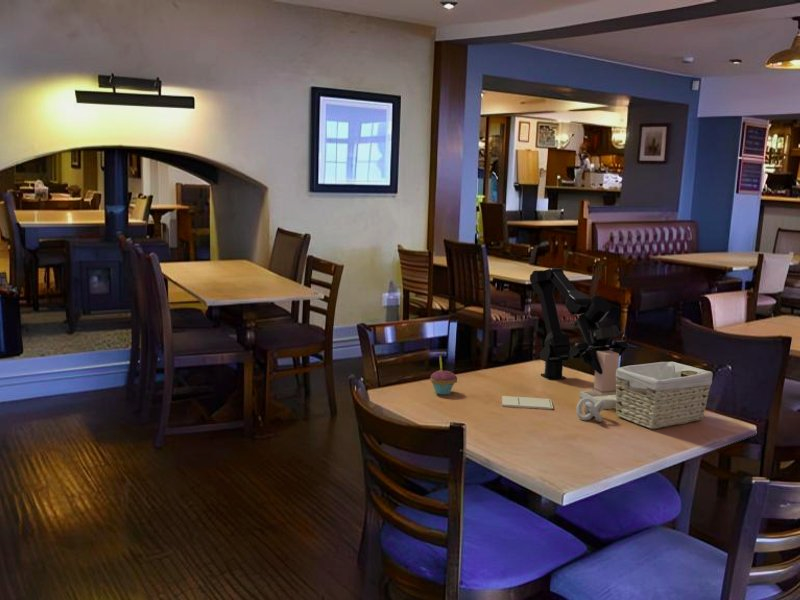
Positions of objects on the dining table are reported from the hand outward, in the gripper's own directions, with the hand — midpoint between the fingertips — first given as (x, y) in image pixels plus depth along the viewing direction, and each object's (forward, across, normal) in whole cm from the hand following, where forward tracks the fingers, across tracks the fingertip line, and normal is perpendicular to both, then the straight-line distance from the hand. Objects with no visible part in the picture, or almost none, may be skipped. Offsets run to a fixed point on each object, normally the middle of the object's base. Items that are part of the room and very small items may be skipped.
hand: (608, 373), depth 217 cm
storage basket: (+19, +6, -5) cm, 21 cm away
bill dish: (+6, 0, +8) cm, 10 cm away
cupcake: (-9, -45, +24) cm, 52 cm away
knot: (+16, -14, -2) cm, 21 cm away
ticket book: (+3, -24, +11) cm, 27 cm away
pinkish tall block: (+4, 0, +6) cm, 7 cm away
